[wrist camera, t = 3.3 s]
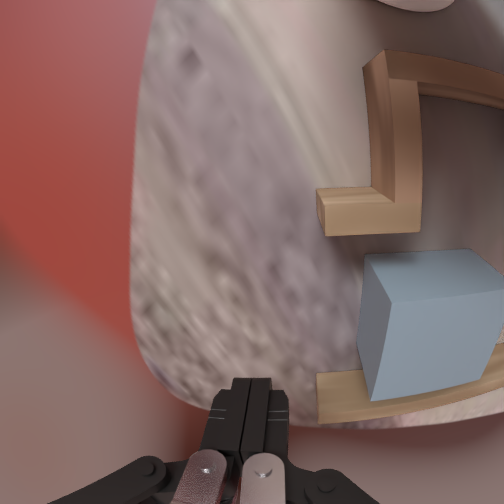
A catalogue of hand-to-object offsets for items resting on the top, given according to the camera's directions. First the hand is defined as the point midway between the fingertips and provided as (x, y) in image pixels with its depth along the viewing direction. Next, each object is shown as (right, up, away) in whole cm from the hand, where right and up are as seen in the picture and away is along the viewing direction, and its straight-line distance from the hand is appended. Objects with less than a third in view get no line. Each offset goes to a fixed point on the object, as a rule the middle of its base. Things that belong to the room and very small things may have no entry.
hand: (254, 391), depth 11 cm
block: (+10, +3, +4) cm, 11 cm away
